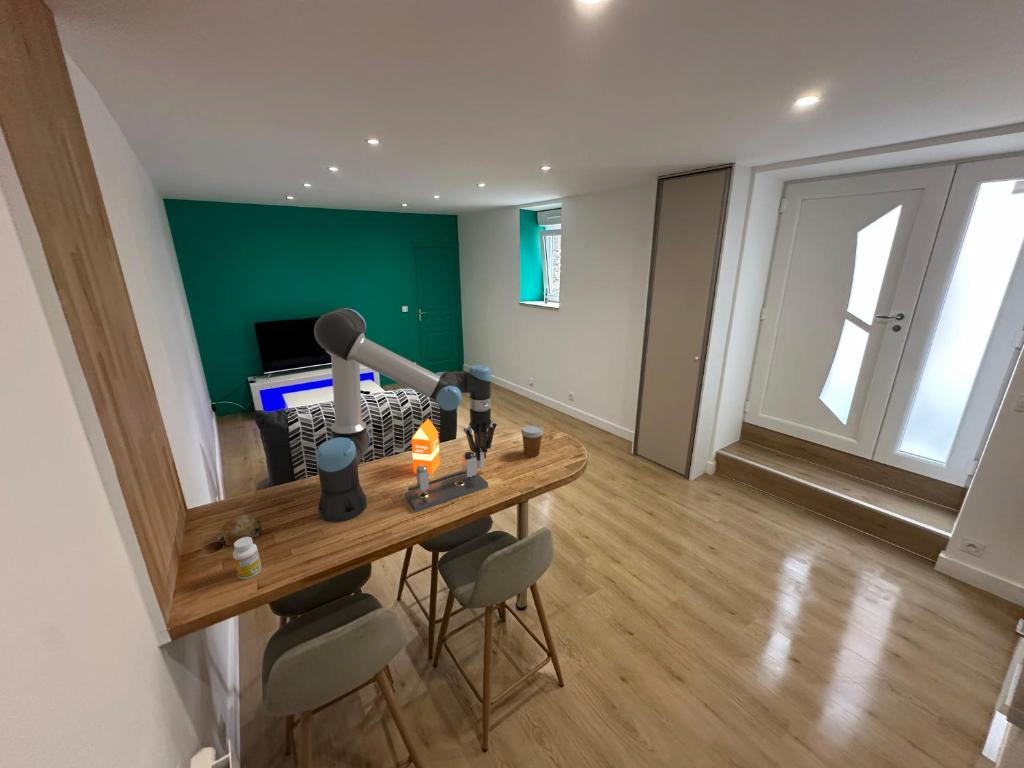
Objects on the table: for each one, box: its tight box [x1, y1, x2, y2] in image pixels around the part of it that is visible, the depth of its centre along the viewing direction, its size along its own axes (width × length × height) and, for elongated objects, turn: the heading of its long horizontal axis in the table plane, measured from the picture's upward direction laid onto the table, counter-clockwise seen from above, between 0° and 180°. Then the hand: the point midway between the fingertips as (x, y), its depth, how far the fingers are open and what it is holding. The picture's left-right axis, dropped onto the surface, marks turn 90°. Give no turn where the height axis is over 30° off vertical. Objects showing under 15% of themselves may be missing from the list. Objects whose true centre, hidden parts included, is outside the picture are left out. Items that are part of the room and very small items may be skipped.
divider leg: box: [461, 451, 478, 479], centre depth 146 cm, size 4×4×10 cm
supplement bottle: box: [232, 537, 262, 580], centre depth 105 cm, size 5×5×10 cm
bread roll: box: [217, 514, 261, 547], centre depth 119 cm, size 10×10×8 cm
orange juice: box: [411, 418, 440, 475], centre depth 157 cm, size 8×9×20 cm
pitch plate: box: [404, 465, 489, 513], centre depth 141 cm, size 28×10×13 cm, turn 124°
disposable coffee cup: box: [520, 424, 544, 458], centre depth 171 cm, size 10×10×12 cm
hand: (480, 466), depth 149 cm, fingers closed
